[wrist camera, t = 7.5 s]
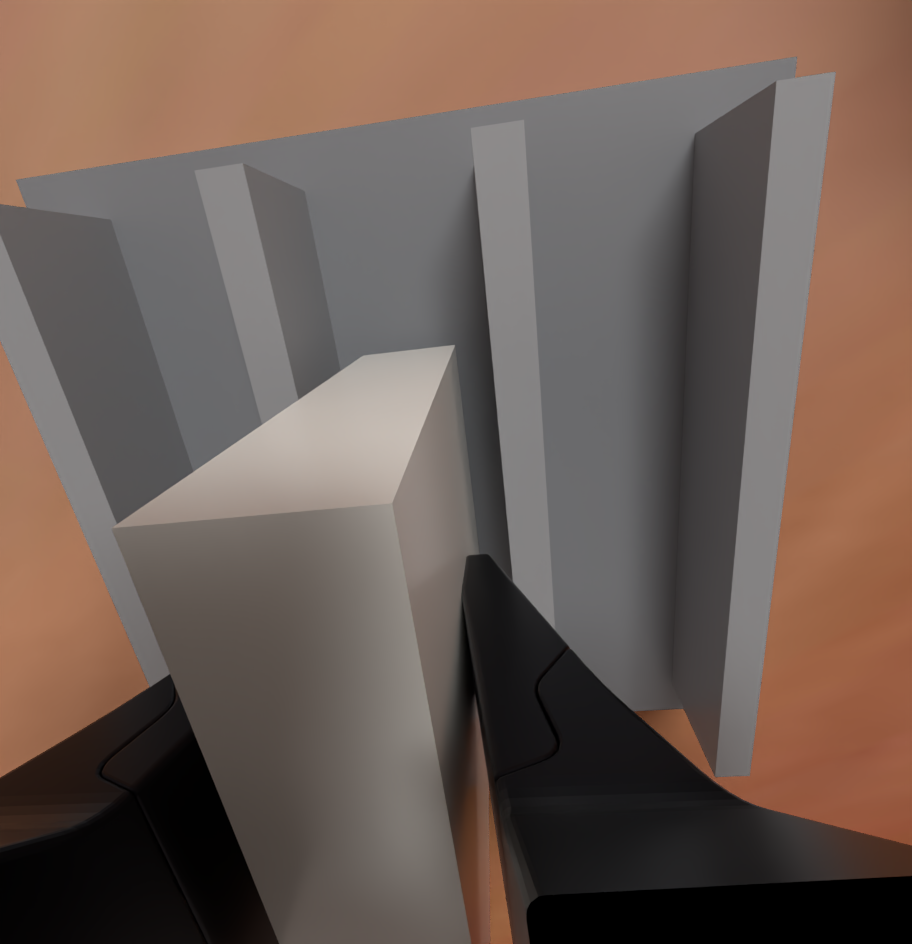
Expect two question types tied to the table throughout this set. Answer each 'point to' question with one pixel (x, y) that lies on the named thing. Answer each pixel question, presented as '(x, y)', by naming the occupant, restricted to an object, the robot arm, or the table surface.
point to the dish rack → (471, 342)
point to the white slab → (335, 653)
